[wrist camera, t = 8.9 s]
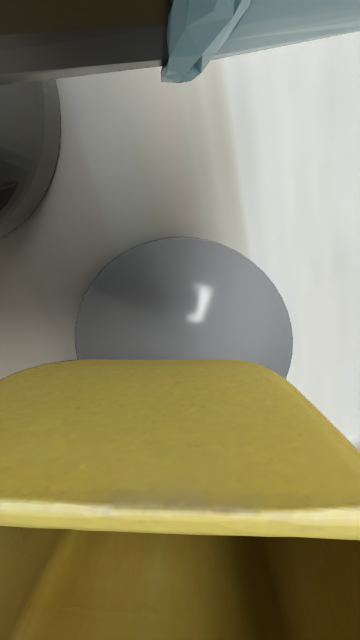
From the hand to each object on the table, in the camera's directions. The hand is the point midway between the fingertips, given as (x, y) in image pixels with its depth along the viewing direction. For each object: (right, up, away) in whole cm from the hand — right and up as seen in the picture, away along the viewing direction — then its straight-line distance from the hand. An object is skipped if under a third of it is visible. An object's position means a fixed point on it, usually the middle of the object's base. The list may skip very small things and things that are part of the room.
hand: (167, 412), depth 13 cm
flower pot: (0, 0, 0) cm, 0 cm away
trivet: (+1, +2, +8) cm, 8 cm away
